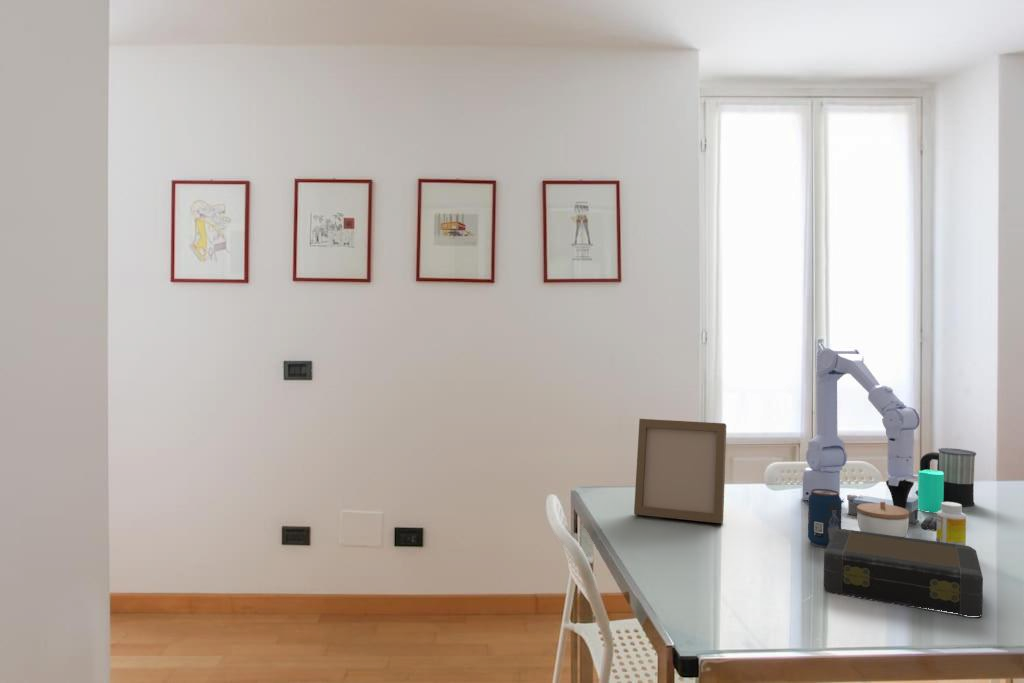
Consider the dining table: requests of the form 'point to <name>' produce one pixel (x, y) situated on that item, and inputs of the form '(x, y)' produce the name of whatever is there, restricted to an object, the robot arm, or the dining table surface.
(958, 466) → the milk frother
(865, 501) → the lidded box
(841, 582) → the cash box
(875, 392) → the robot arm
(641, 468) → the photo frame
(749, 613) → the dining table surface
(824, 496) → the soda can
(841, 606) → the dining table surface
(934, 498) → the candle
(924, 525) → the grey ridged block
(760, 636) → the dining table surface
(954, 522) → the supplement bottle
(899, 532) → the lidded jar
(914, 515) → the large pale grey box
